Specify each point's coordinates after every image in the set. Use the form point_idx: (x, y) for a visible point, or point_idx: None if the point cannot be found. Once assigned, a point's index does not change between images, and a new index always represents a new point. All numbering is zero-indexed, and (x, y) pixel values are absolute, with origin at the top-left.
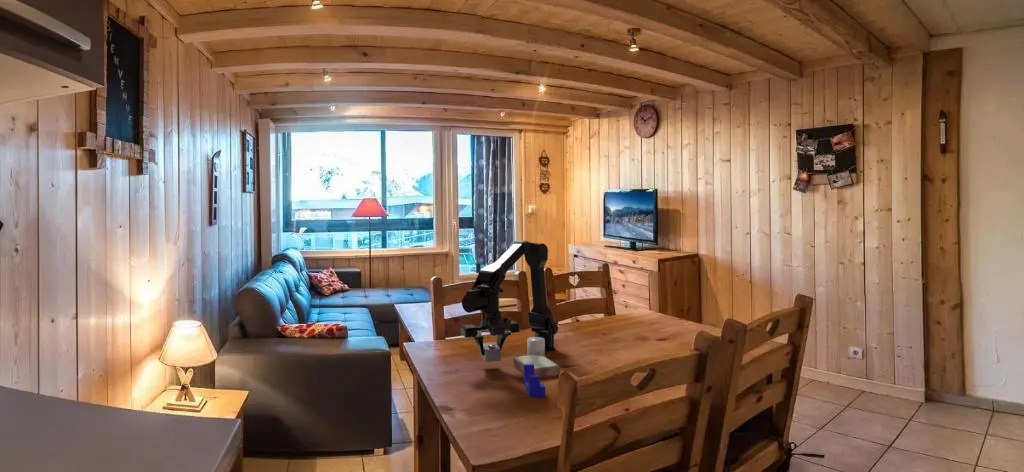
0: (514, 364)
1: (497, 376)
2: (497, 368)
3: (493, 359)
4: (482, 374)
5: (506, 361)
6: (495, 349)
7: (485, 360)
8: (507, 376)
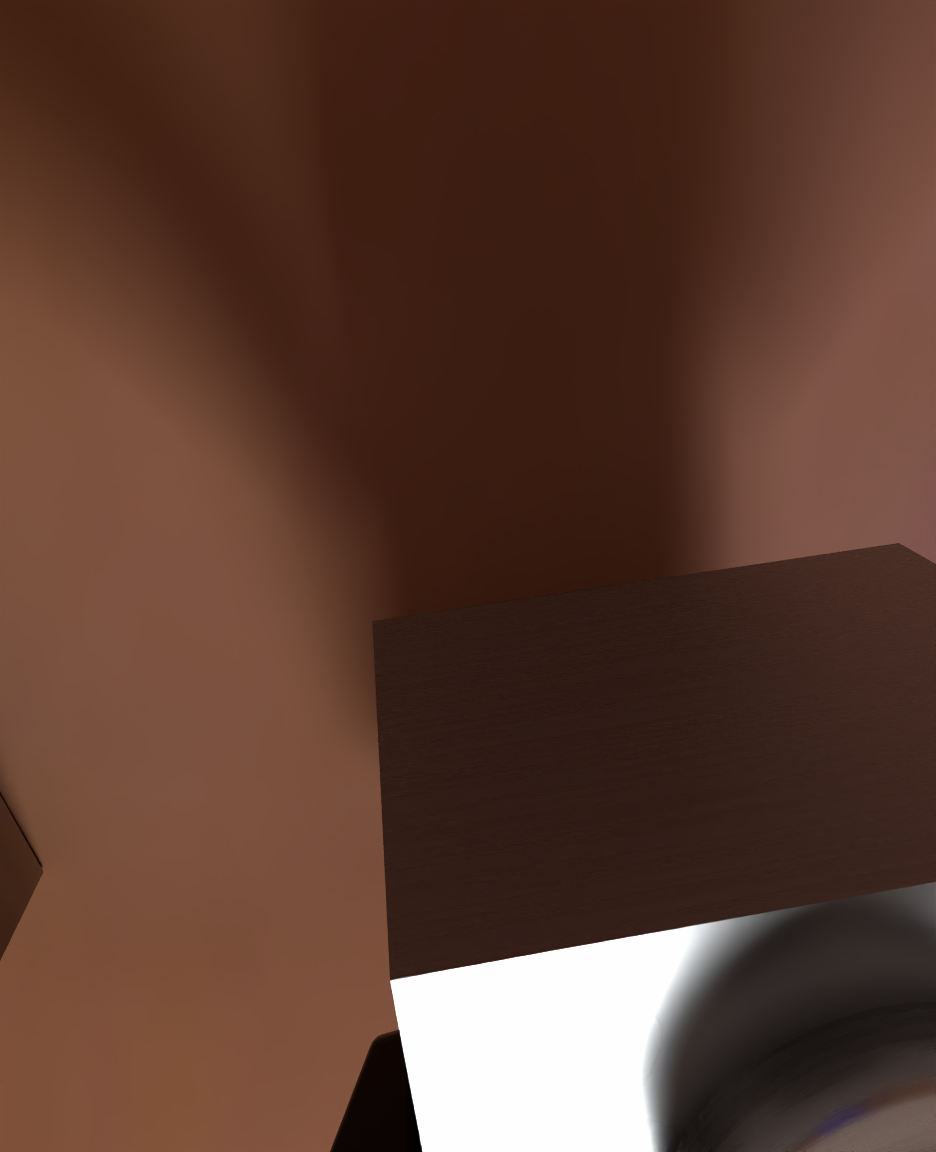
0: (3, 862)
1: (492, 148)
2: None
3: (653, 608)
4: (826, 373)
5: (202, 1093)
6: (731, 884)
7: (931, 564)
8: (207, 95)
